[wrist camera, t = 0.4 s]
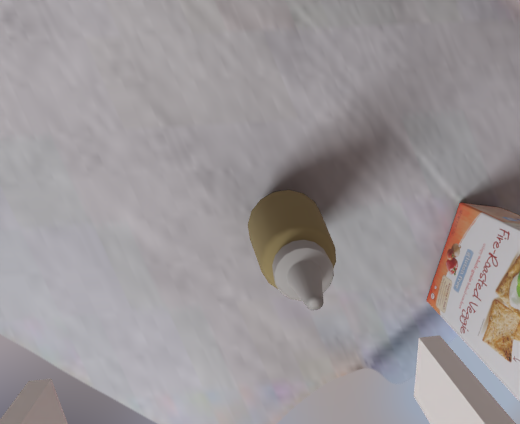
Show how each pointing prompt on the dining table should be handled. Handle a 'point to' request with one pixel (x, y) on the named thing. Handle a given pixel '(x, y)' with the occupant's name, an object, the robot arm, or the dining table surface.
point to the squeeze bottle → (293, 246)
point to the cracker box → (483, 287)
